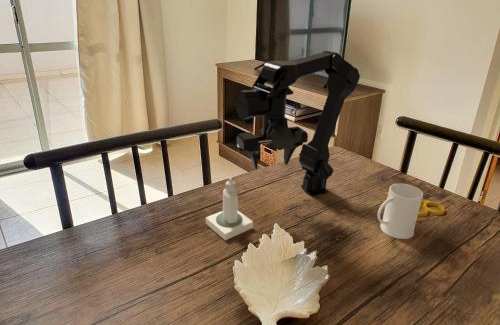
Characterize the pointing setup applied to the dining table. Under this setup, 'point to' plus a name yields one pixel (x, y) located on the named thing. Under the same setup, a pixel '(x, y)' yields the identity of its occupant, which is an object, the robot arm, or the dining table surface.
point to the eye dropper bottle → (230, 202)
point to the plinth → (228, 225)
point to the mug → (400, 211)
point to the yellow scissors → (424, 206)
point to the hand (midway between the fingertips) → (270, 166)
